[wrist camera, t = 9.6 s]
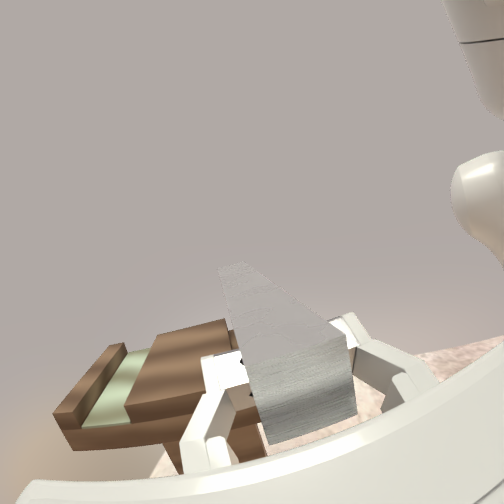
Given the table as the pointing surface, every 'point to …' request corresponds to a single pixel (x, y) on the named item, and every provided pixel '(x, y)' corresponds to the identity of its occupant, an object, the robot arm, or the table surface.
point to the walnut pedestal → (152, 396)
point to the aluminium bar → (288, 356)
